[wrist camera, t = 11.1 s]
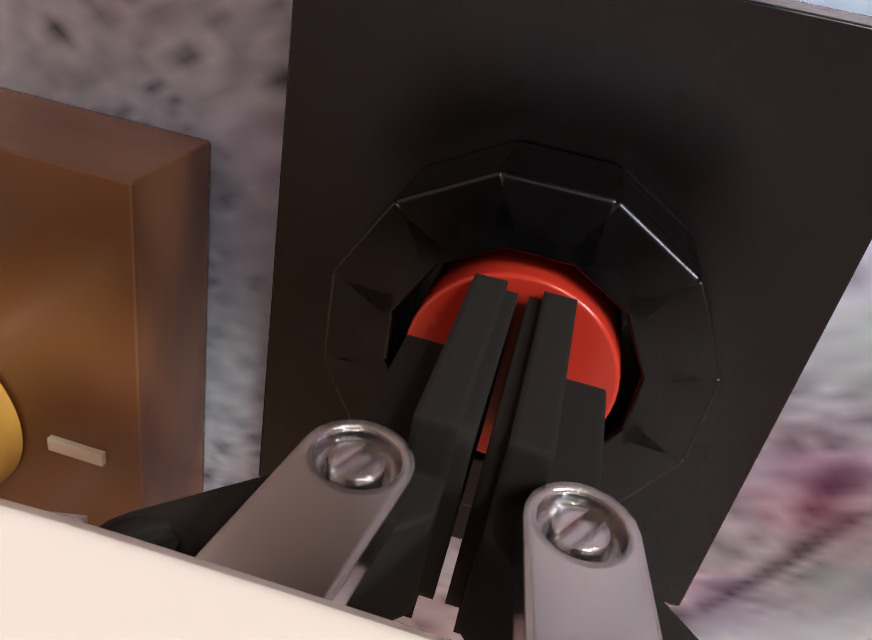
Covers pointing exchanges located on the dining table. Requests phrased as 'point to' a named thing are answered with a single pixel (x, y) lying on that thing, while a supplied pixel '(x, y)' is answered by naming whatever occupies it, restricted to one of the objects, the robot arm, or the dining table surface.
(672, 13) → the button box
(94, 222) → the knob panel
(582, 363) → the red button
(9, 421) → the dial knob
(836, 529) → the dining table surface
